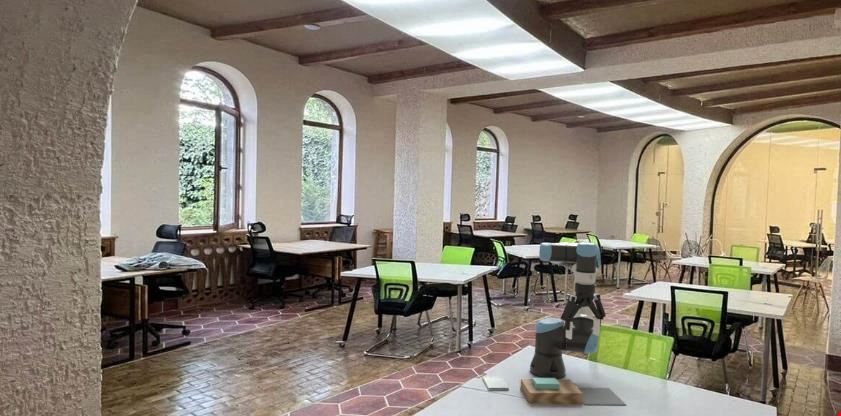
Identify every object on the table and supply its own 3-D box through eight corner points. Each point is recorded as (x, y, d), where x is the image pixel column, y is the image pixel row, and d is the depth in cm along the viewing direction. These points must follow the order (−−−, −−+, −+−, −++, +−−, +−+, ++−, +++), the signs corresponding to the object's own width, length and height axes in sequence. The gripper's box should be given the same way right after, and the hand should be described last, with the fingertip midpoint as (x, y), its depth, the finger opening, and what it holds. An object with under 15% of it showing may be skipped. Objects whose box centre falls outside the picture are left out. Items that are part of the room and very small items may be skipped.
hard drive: (509, 387, 210) (501, 376, 222) (488, 387, 209) (482, 376, 222) (508, 392, 210) (501, 380, 222) (488, 391, 209) (482, 379, 222)
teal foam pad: (536, 388, 202) (536, 383, 202) (532, 382, 208) (532, 377, 208) (559, 389, 202) (559, 383, 202) (554, 383, 208) (554, 378, 208)
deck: (529, 403, 198) (529, 392, 198) (520, 388, 212) (520, 378, 212) (582, 403, 199) (582, 393, 199) (569, 389, 213) (569, 379, 213)
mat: (584, 405, 198) (584, 404, 198) (569, 388, 214) (569, 387, 214) (626, 405, 199) (626, 404, 199) (608, 388, 215) (608, 387, 215)
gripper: (565, 286, 197) (563, 342, 198) (616, 282, 207) (614, 336, 208) (553, 282, 204) (550, 336, 205) (603, 279, 214) (600, 331, 215)
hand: (582, 336), depth 207 cm, fingers open, 13 cm apart
